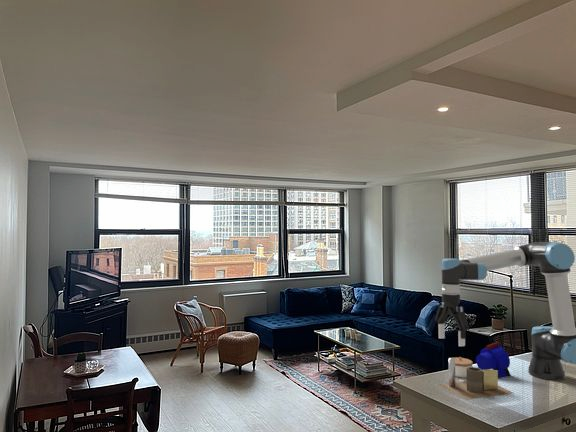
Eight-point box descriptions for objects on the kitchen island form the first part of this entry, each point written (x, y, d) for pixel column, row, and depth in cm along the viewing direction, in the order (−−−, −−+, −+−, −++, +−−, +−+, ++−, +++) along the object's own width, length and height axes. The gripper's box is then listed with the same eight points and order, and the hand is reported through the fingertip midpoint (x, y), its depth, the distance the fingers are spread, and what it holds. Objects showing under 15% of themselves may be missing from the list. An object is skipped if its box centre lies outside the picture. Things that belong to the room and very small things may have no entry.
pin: (452, 384, 188) (452, 357, 188) (456, 387, 185) (456, 359, 185) (447, 385, 187) (447, 358, 187) (451, 387, 184) (451, 359, 185)
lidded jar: (465, 382, 194) (465, 362, 194) (444, 376, 202) (443, 356, 203) (477, 377, 201) (476, 357, 201) (455, 372, 209) (455, 352, 209)
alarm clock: (512, 376, 203) (511, 344, 204) (493, 379, 198) (492, 347, 199) (491, 368, 214) (490, 338, 215) (472, 371, 210) (472, 341, 210)
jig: (483, 381, 195) (482, 359, 196) (514, 395, 178) (513, 371, 179) (438, 386, 189) (438, 363, 189) (466, 402, 171) (466, 376, 172)
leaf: (496, 388, 183) (496, 370, 183) (497, 388, 182) (497, 370, 183) (482, 389, 181) (482, 371, 182) (483, 390, 181) (483, 371, 181)
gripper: (426, 290, 198) (427, 335, 198) (462, 298, 175) (463, 350, 174) (440, 289, 201) (440, 334, 200) (478, 297, 177) (478, 348, 176)
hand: (451, 342), depth 187 cm, fingers open, 13 cm apart
